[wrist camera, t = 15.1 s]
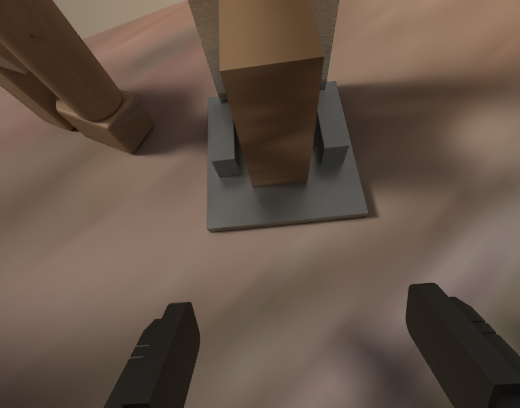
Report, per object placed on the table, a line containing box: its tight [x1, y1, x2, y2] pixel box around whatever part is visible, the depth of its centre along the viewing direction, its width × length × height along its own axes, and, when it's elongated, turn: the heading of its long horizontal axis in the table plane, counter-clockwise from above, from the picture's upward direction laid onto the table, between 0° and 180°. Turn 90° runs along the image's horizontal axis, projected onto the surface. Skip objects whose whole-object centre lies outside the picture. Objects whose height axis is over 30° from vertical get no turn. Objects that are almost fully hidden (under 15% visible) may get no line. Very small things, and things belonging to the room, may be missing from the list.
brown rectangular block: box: [219, 0, 324, 187], centre depth 16 cm, size 4×6×10 cm, turn 4°
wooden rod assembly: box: [0, 0, 154, 154], centre depth 16 cm, size 4×11×18 cm, turn 66°
